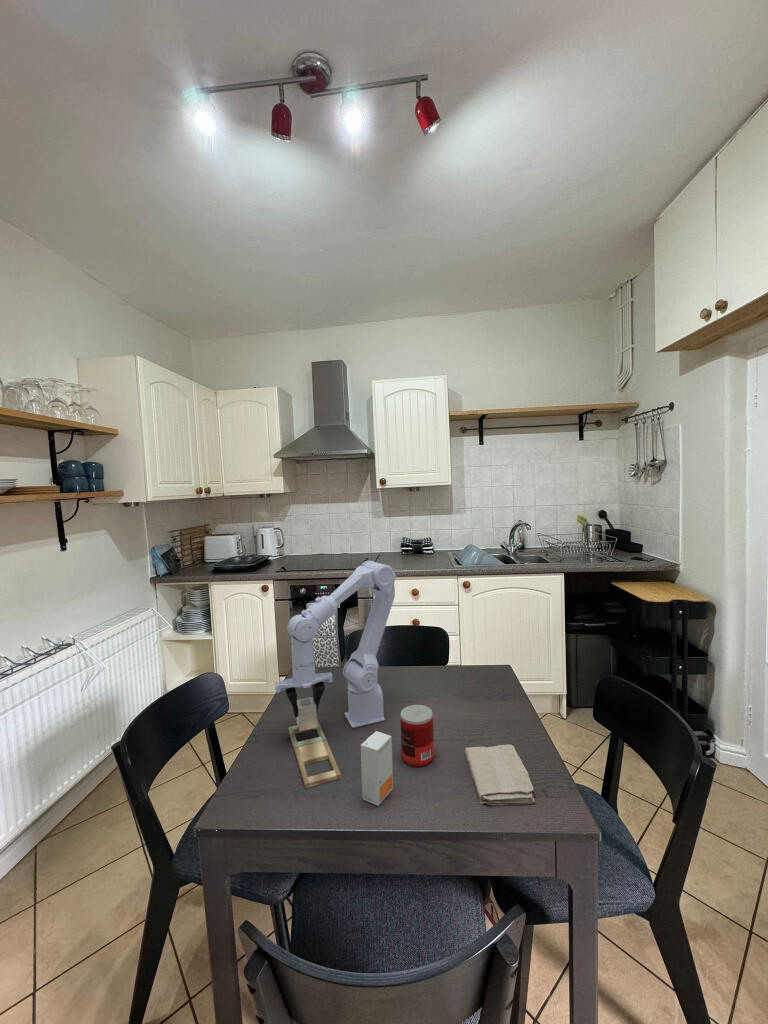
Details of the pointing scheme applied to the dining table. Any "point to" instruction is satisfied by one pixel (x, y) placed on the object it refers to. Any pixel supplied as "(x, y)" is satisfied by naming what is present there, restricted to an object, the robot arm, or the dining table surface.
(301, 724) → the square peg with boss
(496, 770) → the washcloth
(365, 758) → the skincare box
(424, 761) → the canned food
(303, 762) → the wooden peg board
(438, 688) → the dining table surface
